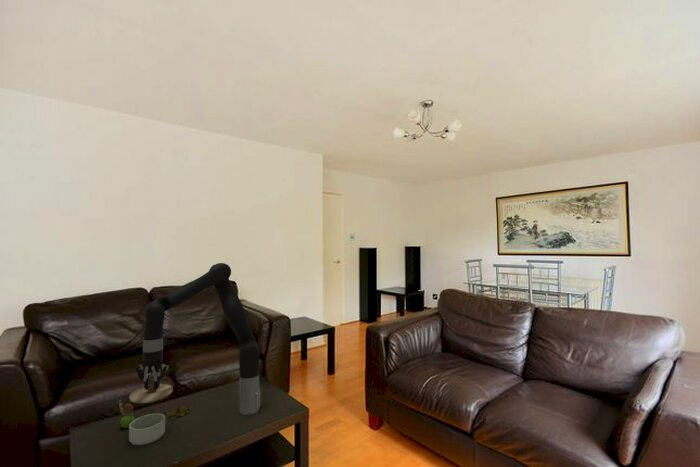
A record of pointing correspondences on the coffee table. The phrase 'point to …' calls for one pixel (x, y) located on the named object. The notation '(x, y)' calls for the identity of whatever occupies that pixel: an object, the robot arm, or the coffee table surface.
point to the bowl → (146, 429)
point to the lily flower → (177, 411)
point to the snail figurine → (126, 415)
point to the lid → (150, 393)
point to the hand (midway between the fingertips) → (151, 388)
